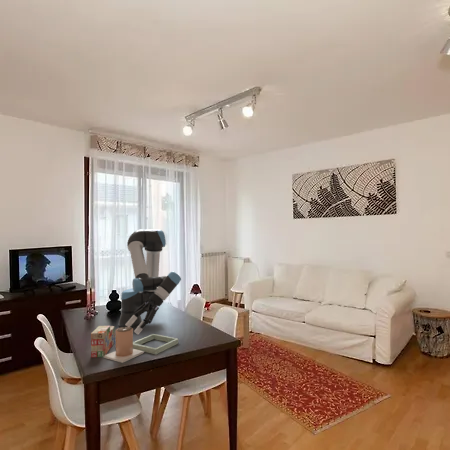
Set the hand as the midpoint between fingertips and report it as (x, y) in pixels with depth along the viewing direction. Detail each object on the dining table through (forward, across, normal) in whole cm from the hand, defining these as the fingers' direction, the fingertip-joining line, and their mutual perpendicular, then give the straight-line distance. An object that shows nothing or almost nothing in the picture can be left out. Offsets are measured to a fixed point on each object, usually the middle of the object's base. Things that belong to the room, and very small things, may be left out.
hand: (131, 329), depth 168 cm
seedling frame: (-1, -4, +19) cm, 19 cm away
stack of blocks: (+16, -14, +2) cm, 22 cm away
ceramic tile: (+11, 0, +6) cm, 13 cm away
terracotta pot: (+10, 0, +5) cm, 12 cm away
